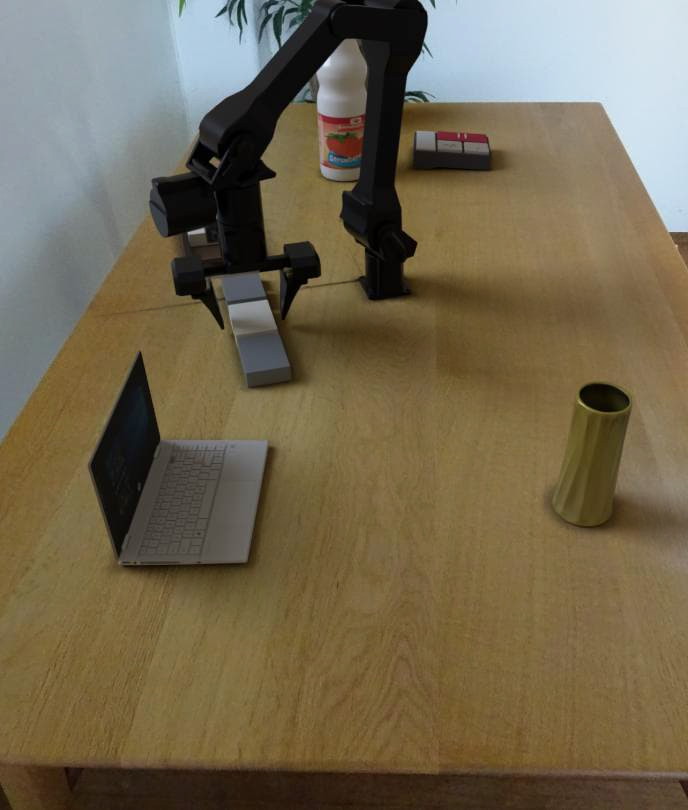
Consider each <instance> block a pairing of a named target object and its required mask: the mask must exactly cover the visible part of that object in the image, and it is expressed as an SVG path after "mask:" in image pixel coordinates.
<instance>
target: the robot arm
mask: <svg viewBox="0 0 688 810" xmlns="http://www.w3.org/2000/svg"><path fill="white" fill-rule="evenodd" d="M428 27H429V14H428V11H427V10H426V9H425V7H424V5H423V4H422V2H421V1H420V0H316V1H315V2H314V4H313V5H312V7H311V10H310V12H309V14H308V15H307V16H306V17H305V18H304V20H303V21H302V22H301V23H300V24H299V25H298V26H297V28H296V29H295V30H294V31H293V32H292V34H290V36H289V37H288V39H286V40H285V42H284V43H283V44H282V45H281V47H279V49H278V50H277V51H276V52H275V54H274V55H273V56H272V57H271V58H270V59H269V60H268V61H267V63H266V64H265V65H264V67H263V68H262V69H261V70H260V71H259V72H258V74H256V76H255V77H254V78H253V80H252V81H251V82H249V84H247V86H245V87H244V88H243V89H241V90H239V91H236V92H235V93H232V94H231V95H228V96H227V97H225V98H224V99H222V100H221V101H220V102H219V103H218V104H216V105H215V106H214V107H213V108H212V109H210V110H209V111H208V112H207V113H206V114H205V115H204V116H203V118H202V119H201V121H200V123H199V126H198V132H199V134H198V135H199V136H198V138H197V140H196V142H195V144H194V146H193V148H192V150H191V152H190V154H189V156H188V158H187V160H186V162H185V168H186V169H187V170H188V171H187V172H183V173H179V174H175V175H171V176H158V177H153V178H152V179H151V180H150V183H151V189H150V191H149V200H148V206H149V210H150V215H151V217H152V220H153V224H154V225H155V227H156V229H157V231H158V233H159V235H160V236H161V237H162V238H163V239H168V238H171V237H175V236H178V235H179V234H183V233H187V232H191V231H194V230H198V229H202V228H204V230H205V237H206V242H207V243H208V244H210V243H219V250H220V255H221V257H222V258H223V262H219V263H211V264H204V265H203V264H202V260H201V255H194V256H187V257H182V256H178V257H173V259H172V260H171V261H170V268H171V274H172V281H173V287H174V291H175V295H176V296H178V297H187V296H190V298H191V299H192V300H194V301H198V300H199V301H201V302H202V304H203V305H204V306H205V307H206V308H207V310H208V311H209V312H210V314H211V315H212V316H213V318H214V320H215V321H216V323H217V325H218V326H219V328H220V329H221V330H222V331H224V330H225V322H224V321H225V320H224V318H223V314H222V311H221V307H220V304H219V301H218V297H217V294H216V291H215V287H214V283H213V281H212V280H215V279H221V278H223V277H231V276H238V275H246V274H253V273H259V274H260V273H268V272H275V271H279V314H280V319H281V321H282V322H285V321H286V319H287V316H288V314H289V311H290V308H291V306H292V303H293V302H294V299H295V297H296V296H297V294H298V292H299V291H300V289H301V287H302V286H306V285H307V284H309V280H311V279H319V278H320V277H321V276H322V263H321V258H320V256H319V254H318V252H317V250H316V247H315V246H314V244H313V243H312V242H310V240H309V241H308V240H305V241H297V242H290V243H284V244H283V246H282V249H283V250H282V251H283V252H281V254H275V255H268V247H267V246H268V245H267V237H266V227H265V218H264V207H263V197H262V190H261V189H262V188H261V182H262V181H266V180H271V179H275V178H276V177H277V172H276V171H275V170H273V169H272V168H270V167H269V166H268V165H267V164H266V163H265V162H264V161H263V159H262V157H263V156H264V154H265V152H266V151H267V149H268V147H269V145H270V144H271V142H272V141H273V139H274V135H275V133H276V128H277V124H278V121H279V119H280V118H281V116H282V114H283V112H284V111H285V110H286V109H288V107H289V105H291V103H293V101H294V100H295V98H297V96H298V95H299V93H301V91H302V90H303V89H304V88H305V87H306V85H307V84H309V81H310V79H311V78H312V77H313V76H314V75H315V74H316V72H317V71H318V70H319V69H320V68H321V66H322V65H323V64H324V63H325V62H326V61H327V59H328V58H329V57H330V56H331V55H332V54H333V52H334V51H335V50H336V49H337V48H338V47H339V45H340V44H341V43H342V42H343V41H344V40H345V39H361V43H362V46H363V50H364V53H365V56H366V60H367V63H368V66H369V77H368V88H367V99H366V110H365V121H364V132H363V142H362V153H361V164H360V175H359V179H358V180H357V182H356V183H355V184H354V186H353V187H352V189H351V190H343V191H342V193H341V204H342V205H341V206H342V207H341V211H340V213H339V216H338V217H339V219H341V220H342V225H343V228H344V229H345V231H346V232H347V233H348V234H349V235H350V236H352V237H353V239H354V241H355V243H356V244H359V245H361V246H362V247H363V248H364V275H359V276H358V282H359V284H360V286H361V288H362V290H363V292H364V293H365V295H366V297H367V299H368V300H378V299H385V298H391V297H399V296H405V295H411V294H412V289H411V287H410V286H409V284H408V282H407V280H406V279H405V263H406V262H407V260H408V259H411V258H413V257H415V253H416V250H417V248H418V245H419V244H418V241H416V240H415V239H414V238H413V237H411V236H410V235H409V234H408V233H407V232H406V231H404V230H403V208H402V205H401V201H400V198H399V195H398V192H397V188H396V178H397V177H396V176H397V167H398V159H399V152H400V151H399V149H400V142H401V132H402V124H403V116H404V107H405V100H406V99H405V98H406V91H407V82H408V76H409V72H410V71H411V70H412V68H413V67H414V65H415V63H416V62H417V60H418V59H419V57H420V56H421V54H422V50H423V47H424V43H425V39H426V35H427V31H428ZM213 158H215V160H217V161H219V164H218V166H215V165H214V164H213V163H212V162H210V161H212V159H213ZM216 215H217V218H216Z"/></svg>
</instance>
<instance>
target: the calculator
mask: <svg viewBox="0 0 688 810" xmlns="http://www.w3.org/2000/svg"><path fill="white" fill-rule="evenodd" d="M413 133H414V134H413V146H412V168H413V169H418V170H419V169H420V170H433V169H435V168H450V169H463V170H464V169H465V170H478V171H480V170H481V171H490V168H491V163H492V162H491V161H492V152H491V151H492V150H491V145H490V141H489V140H490V139H489V136H488V135H487V134H485V133H475V132H474V133H471V132H461V131H460V132H459V131H457V132H456V131H444V130H443V131H442V130H437V132H435V131H430V130H417V131H414V132H413Z"/></svg>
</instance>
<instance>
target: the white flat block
mask: <svg viewBox="0 0 688 810" xmlns="http://www.w3.org/2000/svg"><path fill="white" fill-rule="evenodd" d="M228 309H229V313H228V315H229V316H228V317H229V320H230V324H231V328H232V331H233V336H234V340H235V344H236V347H237V349H238V344H237V339H242V338H248V337H255V336H262V335H268V334H275V333H279V331H278V325H277V324H276V320H275V318H274V314H273V311H272V308H271V307H270V303H269V299H267V300H261V301H254V302H247V303H240V304H233V305H228ZM228 309H227V310H228Z"/></svg>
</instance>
